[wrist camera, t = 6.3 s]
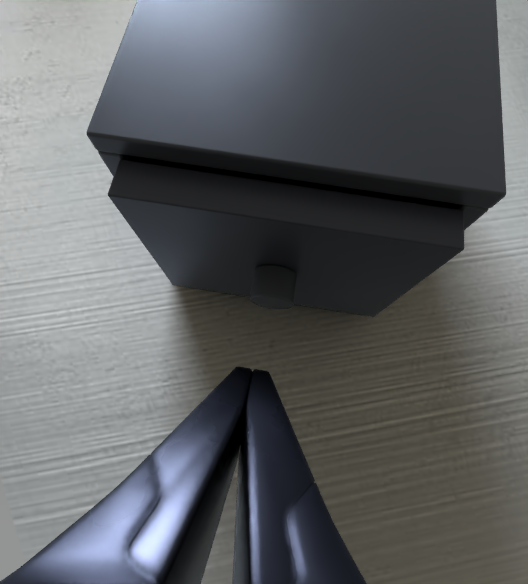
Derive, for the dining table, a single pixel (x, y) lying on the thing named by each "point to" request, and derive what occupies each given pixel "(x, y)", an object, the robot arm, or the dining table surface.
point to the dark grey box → (315, 94)
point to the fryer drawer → (284, 236)
